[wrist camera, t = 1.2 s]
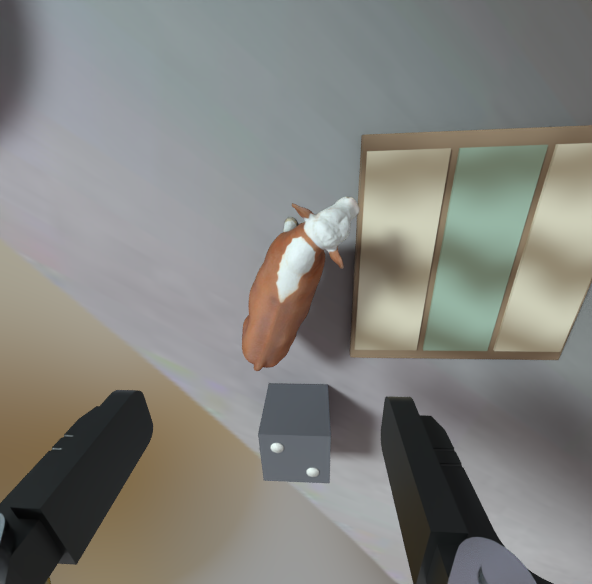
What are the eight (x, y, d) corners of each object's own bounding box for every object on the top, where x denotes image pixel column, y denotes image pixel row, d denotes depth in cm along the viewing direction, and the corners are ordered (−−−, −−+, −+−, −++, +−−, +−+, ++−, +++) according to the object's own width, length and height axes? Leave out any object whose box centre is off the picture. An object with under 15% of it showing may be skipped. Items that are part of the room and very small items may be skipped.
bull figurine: (358, 196, 21) (381, 215, 14) (284, 333, 27) (272, 399, 19) (305, 169, 21) (299, 173, 13) (240, 314, 26) (211, 374, 19)
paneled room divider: (361, 135, 20) (363, 134, 19) (645, 124, 18) (663, 122, 17) (349, 352, 27) (350, 358, 26) (551, 354, 26) (560, 361, 25)
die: (268, 383, 29) (257, 435, 24) (328, 384, 29) (332, 437, 23) (272, 426, 32) (263, 482, 26) (327, 427, 31) (330, 485, 26)
